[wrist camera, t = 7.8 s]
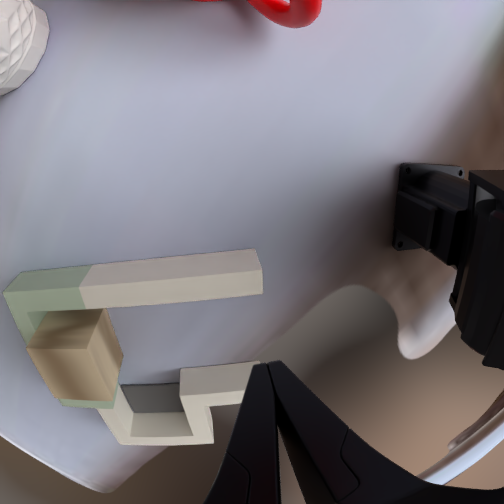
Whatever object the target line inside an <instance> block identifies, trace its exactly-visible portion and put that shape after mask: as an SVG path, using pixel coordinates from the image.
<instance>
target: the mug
mask: <svg viewBox="0 0 504 504" xmlns="http://www.w3.org/2000/svg"><path fill="white" fill-rule="evenodd" d="M194 1H202V2H203V1H222V0H194ZM247 1H248V2H249V3H250V4H251V5H252V6H253V7H254V8H255V9H256V10H258V11H259V12H260V13H261V14H262V15H264V16H265V17H267V18H268V19H269V20H271V21H273V22H275V23H277V24H279V25H282V26H285V27H289V28H300V27H305V26H308V25H310V24H311V23H312V22H313V21H314V20H315V19H316V18H317V17H318V15H319V13H320V11H321V5H322V0H290V3H287V2H285V1H283V0H247Z"/></svg>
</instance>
